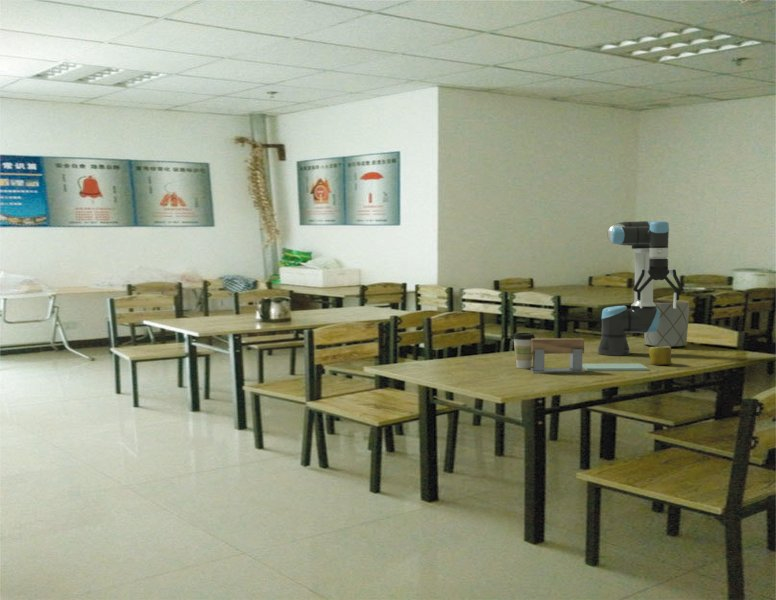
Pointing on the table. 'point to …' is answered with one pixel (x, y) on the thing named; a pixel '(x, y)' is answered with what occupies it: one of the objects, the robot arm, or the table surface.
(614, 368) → the mat
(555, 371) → the standards
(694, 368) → the table surface
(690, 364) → the table surface
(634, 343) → the table surface
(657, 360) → the mug
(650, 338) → the planter
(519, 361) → the coffee cup
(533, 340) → the rail
